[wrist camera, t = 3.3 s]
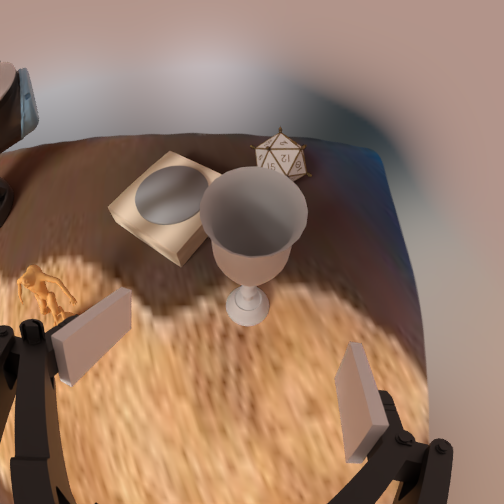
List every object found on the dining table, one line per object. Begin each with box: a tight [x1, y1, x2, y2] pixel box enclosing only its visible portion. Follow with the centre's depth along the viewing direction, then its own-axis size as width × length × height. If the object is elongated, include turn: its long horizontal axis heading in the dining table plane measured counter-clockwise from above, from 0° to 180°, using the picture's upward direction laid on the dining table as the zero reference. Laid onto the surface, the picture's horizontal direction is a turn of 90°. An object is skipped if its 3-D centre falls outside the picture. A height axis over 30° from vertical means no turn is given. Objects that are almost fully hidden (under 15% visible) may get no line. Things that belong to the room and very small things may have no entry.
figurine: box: [17, 264, 77, 327], centre depth 26 cm, size 8×6×12 cm
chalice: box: [200, 166, 308, 326], centre depth 26 cm, size 7×7×18 cm
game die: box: [250, 127, 312, 182], centre depth 40 cm, size 9×8×10 cm
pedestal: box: [108, 151, 222, 268], centre depth 39 cm, size 13×13×4 cm
